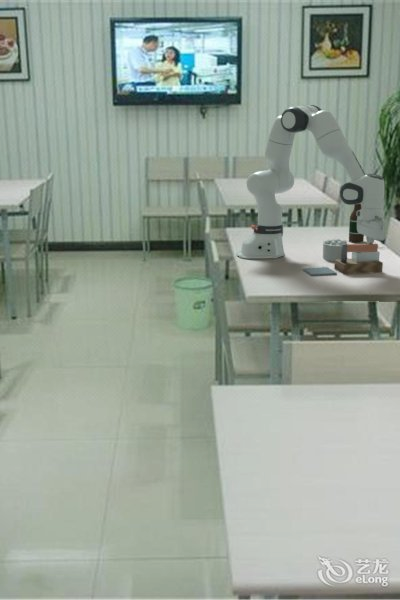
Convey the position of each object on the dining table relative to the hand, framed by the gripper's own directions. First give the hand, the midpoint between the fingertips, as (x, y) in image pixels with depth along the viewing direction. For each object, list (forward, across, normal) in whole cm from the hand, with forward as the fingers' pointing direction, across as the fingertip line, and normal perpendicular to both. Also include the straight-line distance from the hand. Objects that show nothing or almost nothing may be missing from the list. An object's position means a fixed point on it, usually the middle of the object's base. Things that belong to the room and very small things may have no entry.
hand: (369, 247), depth 287 cm
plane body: (+10, 0, +4) cm, 11 cm away
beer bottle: (+10, +62, -21) cm, 67 cm away
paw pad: (+10, +25, +5) cm, 27 cm away
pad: (+10, +1, +22) cm, 24 cm away
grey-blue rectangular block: (+6, 0, +2) cm, 6 cm away
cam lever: (+5, -1, +5) cm, 7 cm away
